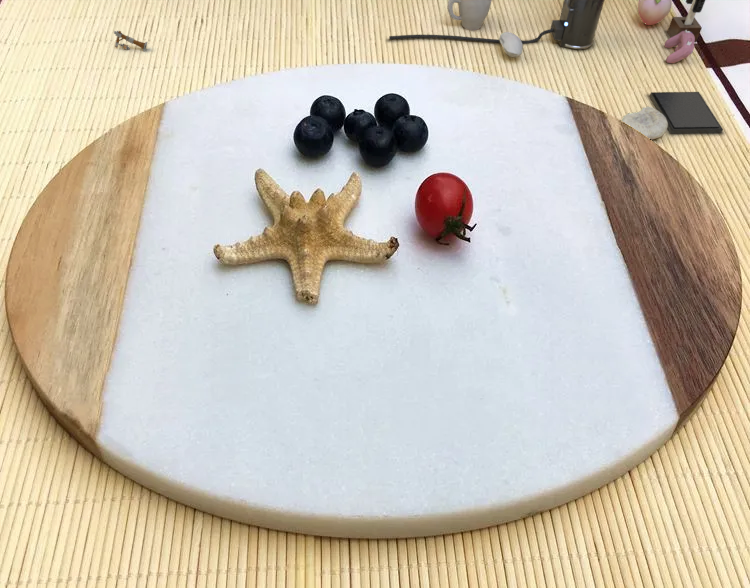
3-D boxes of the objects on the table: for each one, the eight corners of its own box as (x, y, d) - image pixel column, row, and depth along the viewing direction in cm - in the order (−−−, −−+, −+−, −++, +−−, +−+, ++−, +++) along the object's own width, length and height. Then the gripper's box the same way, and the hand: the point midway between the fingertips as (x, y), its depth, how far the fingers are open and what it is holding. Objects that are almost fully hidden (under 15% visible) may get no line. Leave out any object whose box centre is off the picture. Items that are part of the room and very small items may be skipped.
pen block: (674, 42, 180) (680, 27, 177) (667, 31, 184) (672, 16, 181) (696, 42, 181) (702, 27, 177) (688, 31, 184) (694, 16, 181)
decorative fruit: (667, 33, 183) (681, -5, 175) (637, 32, 183) (650, -6, 175) (659, 17, 189) (672, -21, 181) (630, 16, 189) (642, -22, 181)
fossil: (636, 95, 156) (676, 113, 154) (629, 109, 159) (668, 127, 157) (620, 117, 150) (662, 136, 148) (613, 131, 153) (654, 150, 151)
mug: (480, 16, 187) (486, -22, 179) (492, 31, 182) (498, -7, 174) (440, 20, 185) (443, -17, 177) (451, 36, 180) (455, -2, 172)
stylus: (680, 39, 182) (700, -13, 171) (678, 35, 183) (697, -16, 172) (687, 39, 182) (707, -13, 171) (684, 35, 183) (704, -16, 173)
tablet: (670, 134, 154) (672, 129, 153) (649, 96, 164) (651, 91, 163) (721, 133, 155) (723, 128, 154) (697, 95, 164) (699, 90, 164)
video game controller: (677, 71, 174) (700, 49, 169) (664, 61, 173) (686, 38, 168) (675, 52, 180) (696, 30, 175) (662, 43, 179) (683, 20, 174)
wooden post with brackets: (112, 43, 171) (115, 27, 168) (144, 56, 174) (147, 41, 171) (110, 46, 170) (113, 30, 167) (142, 60, 173) (145, 44, 170)
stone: (492, 47, 177) (496, 28, 173) (511, 45, 178) (515, 25, 174) (506, 66, 171) (510, 46, 167) (526, 63, 172) (530, 44, 168)
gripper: (695, -78, 167) (670, -5, 180) (716, -54, 158) (688, 20, 172) (725, -78, 167) (697, -5, 181) (747, -54, 158) (716, 20, 172)
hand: (692, 7), depth 176 cm, fingers open, 4 cm apart
